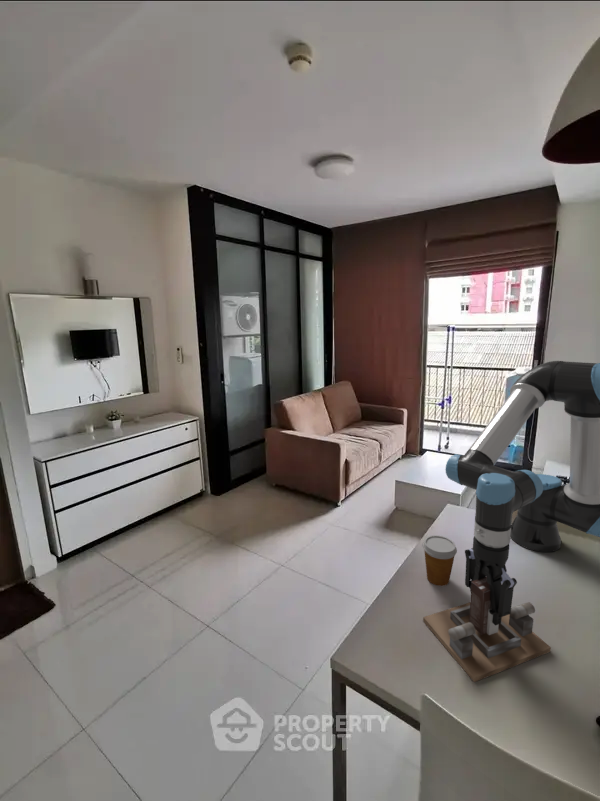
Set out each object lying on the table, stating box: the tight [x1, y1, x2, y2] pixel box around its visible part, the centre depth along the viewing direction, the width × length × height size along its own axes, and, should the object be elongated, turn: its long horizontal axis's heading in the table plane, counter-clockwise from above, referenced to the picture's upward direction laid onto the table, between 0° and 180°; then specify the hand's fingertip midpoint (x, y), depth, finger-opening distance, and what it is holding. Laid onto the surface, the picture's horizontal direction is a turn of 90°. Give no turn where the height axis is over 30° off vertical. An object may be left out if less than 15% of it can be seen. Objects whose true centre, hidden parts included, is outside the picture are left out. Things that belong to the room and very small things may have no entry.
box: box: [469, 576, 502, 635], centre depth 91 cm, size 6×4×12 cm
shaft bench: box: [422, 601, 552, 683], centre depth 93 cm, size 24×18×8 cm
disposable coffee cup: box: [422, 535, 458, 587], centre depth 112 cm, size 10×10×12 cm
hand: (484, 624), depth 93 cm, fingers closed on box, 4 cm apart
